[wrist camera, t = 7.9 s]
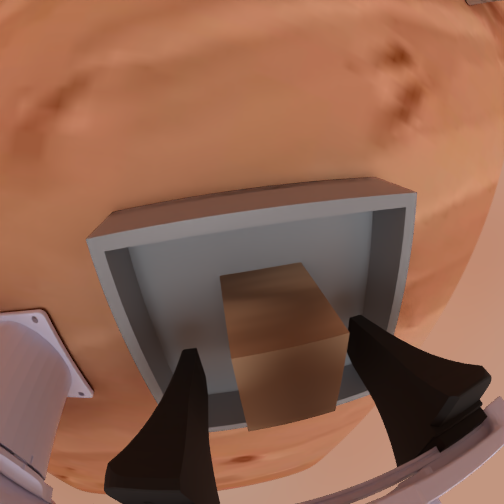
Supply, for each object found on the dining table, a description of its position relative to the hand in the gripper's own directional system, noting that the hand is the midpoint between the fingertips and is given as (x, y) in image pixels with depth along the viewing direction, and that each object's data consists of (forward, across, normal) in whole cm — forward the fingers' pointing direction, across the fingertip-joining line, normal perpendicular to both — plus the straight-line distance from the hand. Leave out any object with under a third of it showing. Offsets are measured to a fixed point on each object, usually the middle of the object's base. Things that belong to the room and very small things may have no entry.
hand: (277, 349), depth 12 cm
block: (+3, 0, 0) cm, 3 cm away
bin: (+3, 0, 0) cm, 3 cm away
